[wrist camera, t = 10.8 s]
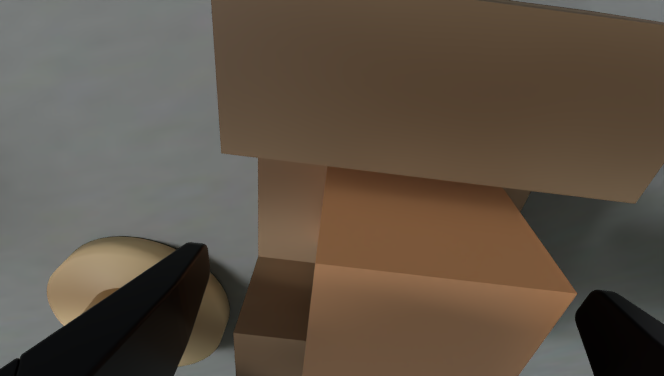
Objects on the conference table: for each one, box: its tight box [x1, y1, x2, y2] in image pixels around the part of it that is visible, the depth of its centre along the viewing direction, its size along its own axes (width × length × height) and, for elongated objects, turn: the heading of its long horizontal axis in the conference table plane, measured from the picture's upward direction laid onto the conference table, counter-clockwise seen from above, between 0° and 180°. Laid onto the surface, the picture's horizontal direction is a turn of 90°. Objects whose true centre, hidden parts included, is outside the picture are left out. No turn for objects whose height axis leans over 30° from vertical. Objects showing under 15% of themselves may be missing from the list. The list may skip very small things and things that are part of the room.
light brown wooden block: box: [302, 166, 577, 376], centre depth 8 cm, size 4×4×5 cm
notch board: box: [211, 0, 664, 376], centre depth 10 cm, size 12×8×4 cm
